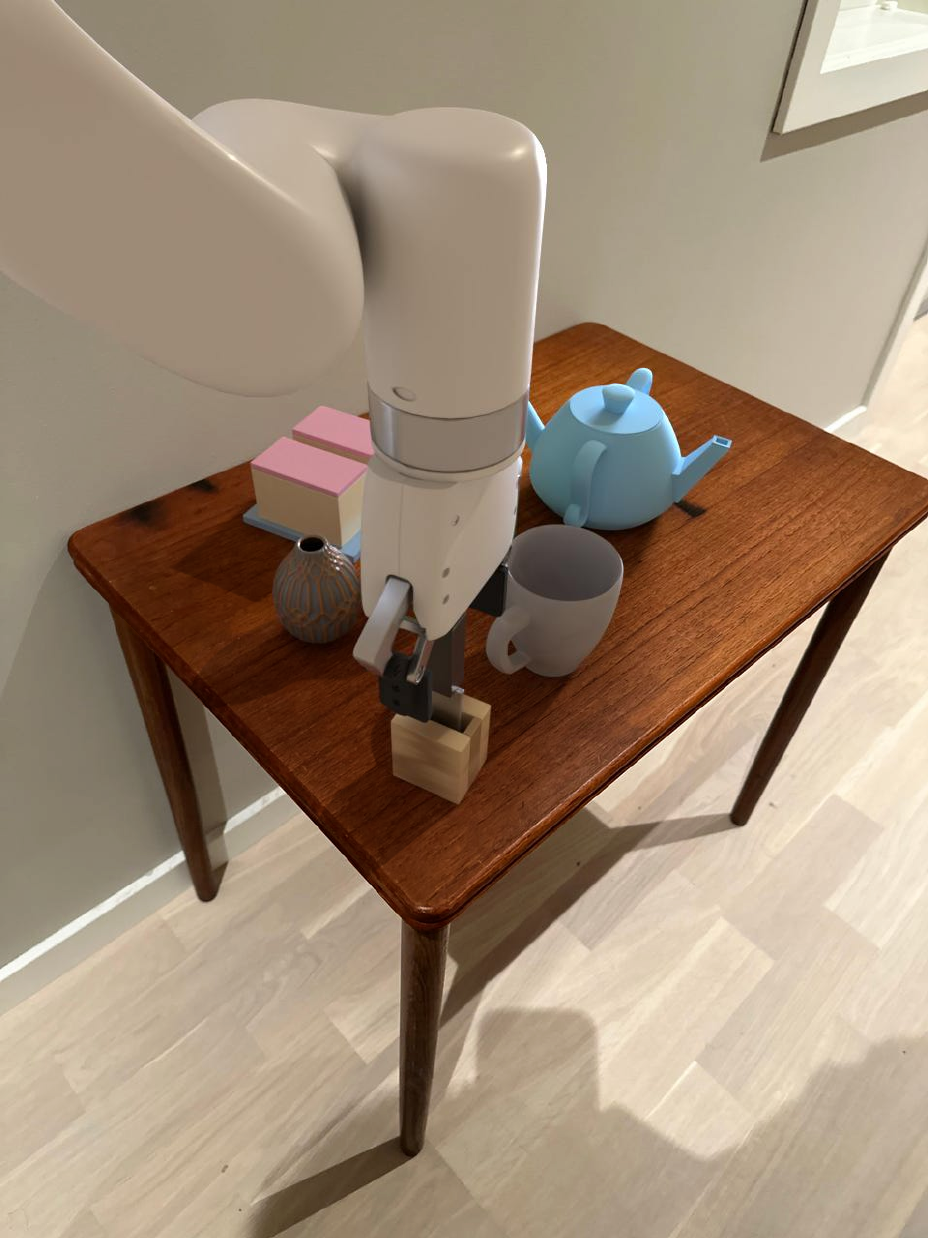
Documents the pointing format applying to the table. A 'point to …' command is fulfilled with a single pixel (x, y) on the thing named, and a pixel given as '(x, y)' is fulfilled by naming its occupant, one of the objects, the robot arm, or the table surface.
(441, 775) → the knife block
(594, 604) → the mug
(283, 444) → the cake
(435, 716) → the knife
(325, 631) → the vase
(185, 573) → the table surface
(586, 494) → the teapot
